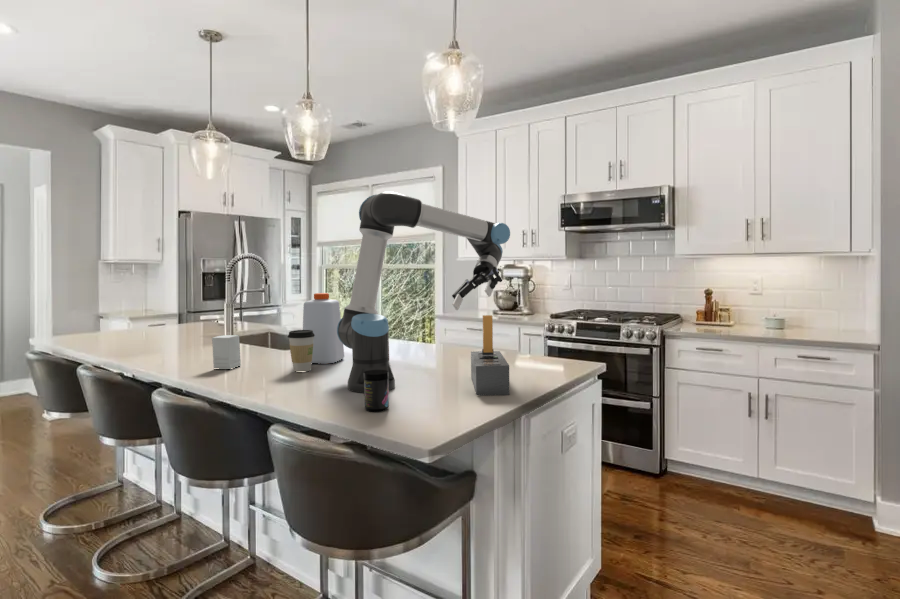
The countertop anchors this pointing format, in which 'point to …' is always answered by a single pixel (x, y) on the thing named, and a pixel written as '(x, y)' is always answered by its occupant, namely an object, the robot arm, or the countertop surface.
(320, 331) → the plastic bottle
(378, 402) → the supplement container
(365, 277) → the robot arm
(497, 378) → the dark gray slotted block
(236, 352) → the supplement box
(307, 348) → the coffee cup
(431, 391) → the countertop surface
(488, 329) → the lever
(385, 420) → the countertop surface
